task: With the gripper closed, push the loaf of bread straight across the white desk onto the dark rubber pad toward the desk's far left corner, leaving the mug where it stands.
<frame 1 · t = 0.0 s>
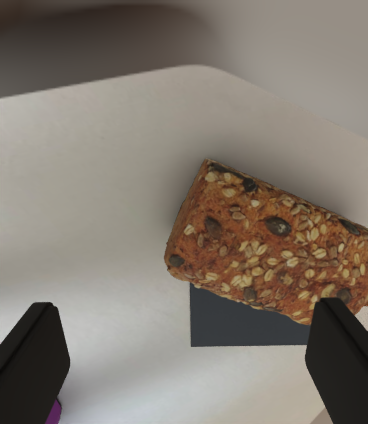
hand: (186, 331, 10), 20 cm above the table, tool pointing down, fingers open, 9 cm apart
mug: (40, 391, 41), on the table
bread: (258, 224, 30), on the table, touching corner pad
corner pad: (252, 309, 35), on the table
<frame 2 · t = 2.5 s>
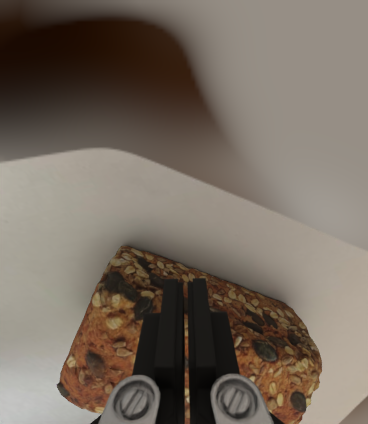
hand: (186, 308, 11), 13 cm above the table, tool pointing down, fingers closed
bread: (191, 307, 27), on the table, touching corner pad
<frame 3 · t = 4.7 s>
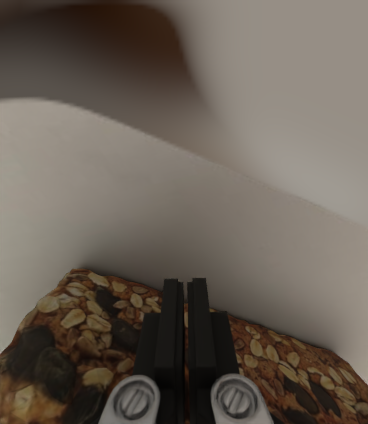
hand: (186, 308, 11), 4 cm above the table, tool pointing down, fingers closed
bread: (190, 358, 18), on the table, touching corner pad, gripper
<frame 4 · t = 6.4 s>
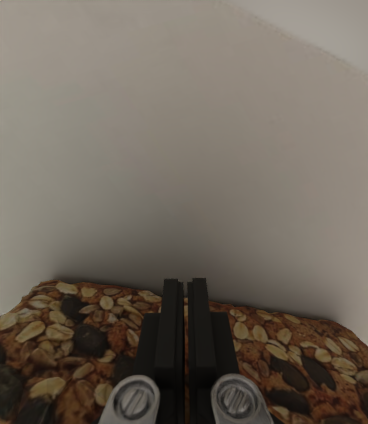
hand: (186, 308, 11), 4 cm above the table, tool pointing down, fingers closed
bread: (186, 352, 17), on the table, touching gripper
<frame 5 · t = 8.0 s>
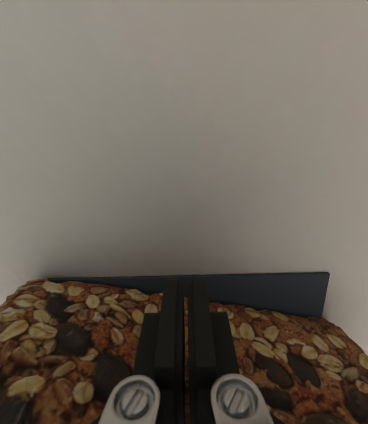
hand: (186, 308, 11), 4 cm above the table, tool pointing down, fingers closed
bread: (176, 350, 17), resting on corner pad, touching gripper
corner pad: (189, 353, 17), on the table
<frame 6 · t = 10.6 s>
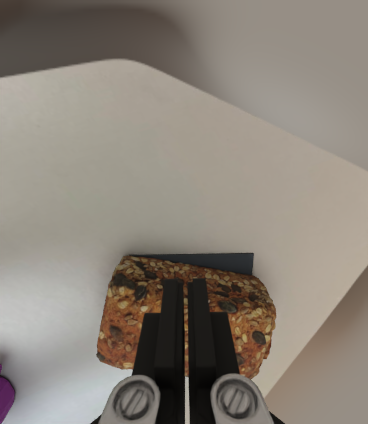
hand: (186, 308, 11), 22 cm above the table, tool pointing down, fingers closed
bread: (185, 292, 36), resting on corner pad
corner pad: (191, 292, 37), on the table
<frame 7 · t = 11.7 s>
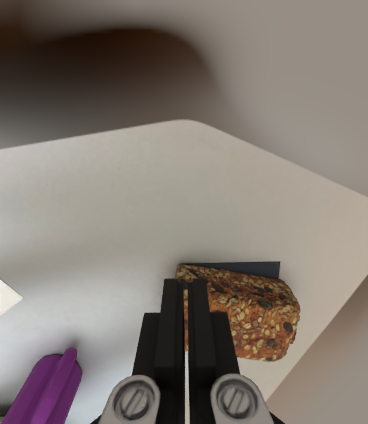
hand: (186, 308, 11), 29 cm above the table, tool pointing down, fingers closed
mug: (66, 358, 52), on the table
bread: (224, 292, 46), resting on corner pad
corner pad: (229, 292, 46), on the table
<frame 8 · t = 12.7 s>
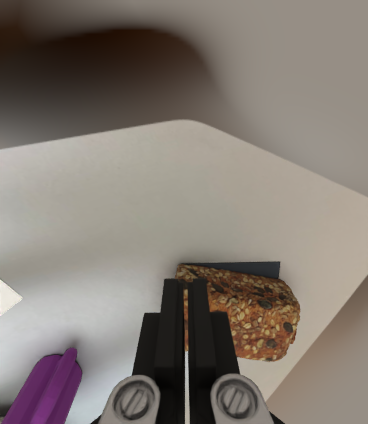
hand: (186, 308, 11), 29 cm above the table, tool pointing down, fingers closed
mug: (66, 358, 52), on the table
bread: (224, 292, 46), resting on corner pad
corner pad: (229, 292, 46), on the table
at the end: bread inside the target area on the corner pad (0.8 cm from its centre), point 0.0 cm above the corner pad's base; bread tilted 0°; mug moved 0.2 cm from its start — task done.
